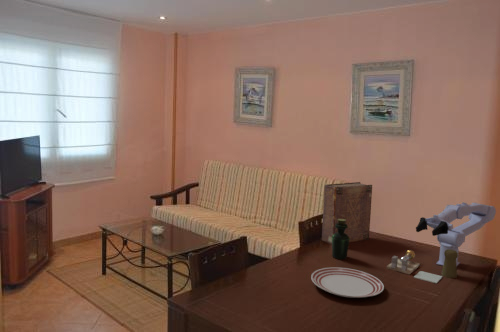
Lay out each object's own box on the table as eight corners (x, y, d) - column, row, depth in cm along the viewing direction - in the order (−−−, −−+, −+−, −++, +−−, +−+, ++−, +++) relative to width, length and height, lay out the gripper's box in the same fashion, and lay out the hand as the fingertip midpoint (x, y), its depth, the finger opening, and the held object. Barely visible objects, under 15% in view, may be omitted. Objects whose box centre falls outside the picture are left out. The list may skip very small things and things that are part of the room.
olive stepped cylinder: (458, 278, 176) (461, 253, 175) (443, 277, 177) (445, 251, 176) (454, 273, 182) (457, 248, 180) (439, 271, 183) (442, 247, 182)
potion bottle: (350, 256, 199) (353, 219, 197) (344, 261, 192) (347, 222, 190) (334, 253, 203) (336, 216, 201) (328, 257, 197) (330, 220, 194)
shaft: (405, 257, 196) (406, 249, 195) (414, 259, 193) (415, 251, 193) (397, 263, 187) (398, 255, 186) (406, 266, 184) (407, 257, 184)
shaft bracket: (397, 260, 196) (398, 248, 195) (419, 265, 190) (420, 253, 189) (386, 268, 185) (387, 256, 184) (409, 274, 179) (410, 261, 178)
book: (356, 234, 236) (360, 181, 232) (369, 239, 228) (372, 184, 224) (321, 240, 223) (324, 184, 219) (333, 245, 215) (336, 187, 212)
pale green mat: (420, 271, 182) (420, 270, 182) (442, 277, 177) (442, 276, 177) (413, 277, 175) (413, 276, 175) (436, 283, 170) (436, 282, 170)
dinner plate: (384, 280, 172) (385, 272, 171) (382, 309, 146) (383, 300, 146) (317, 270, 181) (317, 263, 180) (304, 296, 155) (304, 287, 155)
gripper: (427, 208, 191) (408, 219, 184) (457, 213, 179) (439, 226, 172) (429, 222, 193) (410, 234, 186) (459, 229, 181) (441, 242, 174)
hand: (424, 231), depth 179 cm, fingers open, 7 cm apart
